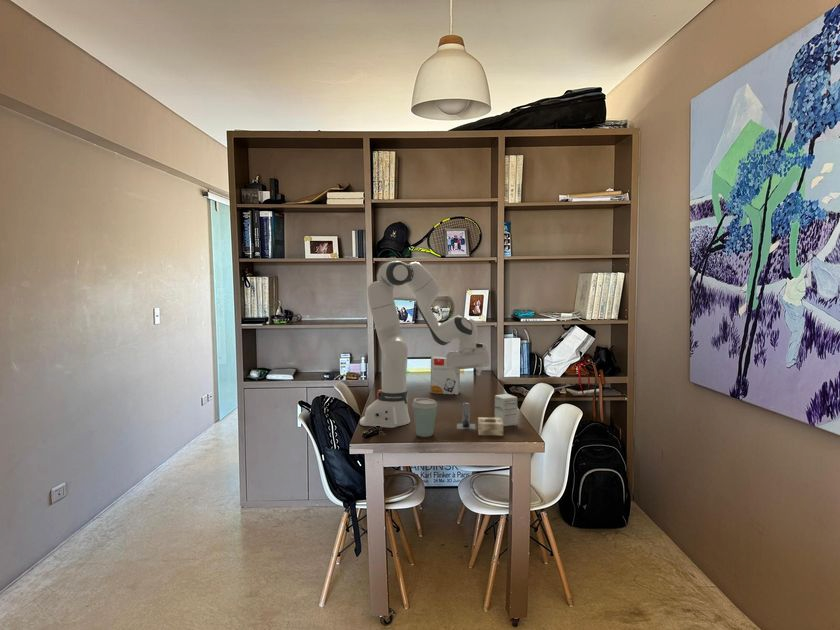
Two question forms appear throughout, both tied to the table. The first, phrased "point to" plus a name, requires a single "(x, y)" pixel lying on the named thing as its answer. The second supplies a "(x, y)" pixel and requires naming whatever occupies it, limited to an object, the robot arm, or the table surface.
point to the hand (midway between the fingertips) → (468, 375)
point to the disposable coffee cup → (424, 416)
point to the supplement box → (506, 409)
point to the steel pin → (466, 414)
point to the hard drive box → (443, 377)
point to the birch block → (490, 426)
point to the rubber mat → (460, 426)
